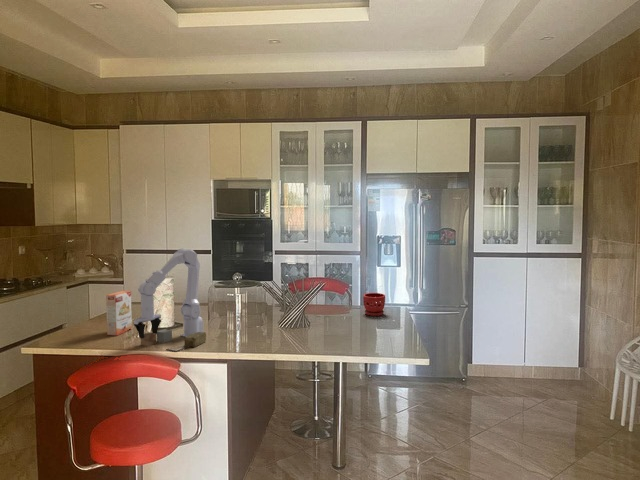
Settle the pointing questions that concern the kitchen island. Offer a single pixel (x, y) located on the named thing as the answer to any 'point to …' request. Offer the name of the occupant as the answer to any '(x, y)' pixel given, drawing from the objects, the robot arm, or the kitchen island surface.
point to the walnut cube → (148, 339)
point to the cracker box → (118, 312)
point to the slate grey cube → (164, 335)
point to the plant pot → (374, 303)
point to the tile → (176, 348)
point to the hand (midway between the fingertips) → (148, 336)
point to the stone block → (195, 339)
